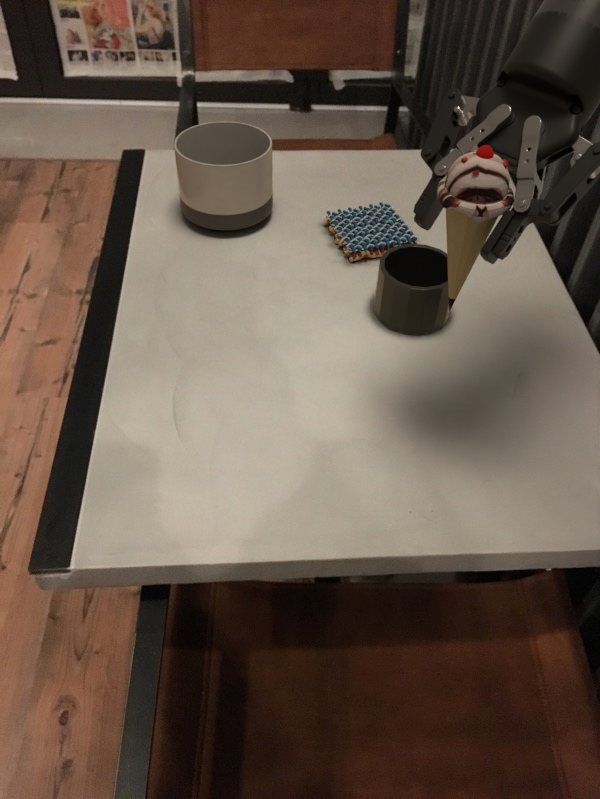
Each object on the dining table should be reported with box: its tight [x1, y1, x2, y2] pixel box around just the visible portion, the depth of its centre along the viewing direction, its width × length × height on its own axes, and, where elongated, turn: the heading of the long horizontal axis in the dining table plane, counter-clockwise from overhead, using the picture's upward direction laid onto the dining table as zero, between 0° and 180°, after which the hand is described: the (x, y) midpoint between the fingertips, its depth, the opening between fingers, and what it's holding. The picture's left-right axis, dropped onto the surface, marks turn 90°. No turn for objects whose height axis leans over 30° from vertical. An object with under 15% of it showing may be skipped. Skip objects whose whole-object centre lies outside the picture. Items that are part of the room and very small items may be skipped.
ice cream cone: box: [437, 145, 515, 310], centre depth 54 cm, size 6×6×15 cm
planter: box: [173, 120, 274, 231], centre depth 93 cm, size 13×13×10 cm
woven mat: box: [323, 202, 420, 263], centre depth 93 cm, size 10×11×2 cm
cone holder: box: [373, 243, 452, 336], centre depth 80 cm, size 9×9×6 cm
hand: (453, 241), depth 53 cm, fingers closed on ice cream cone, 5 cm apart
